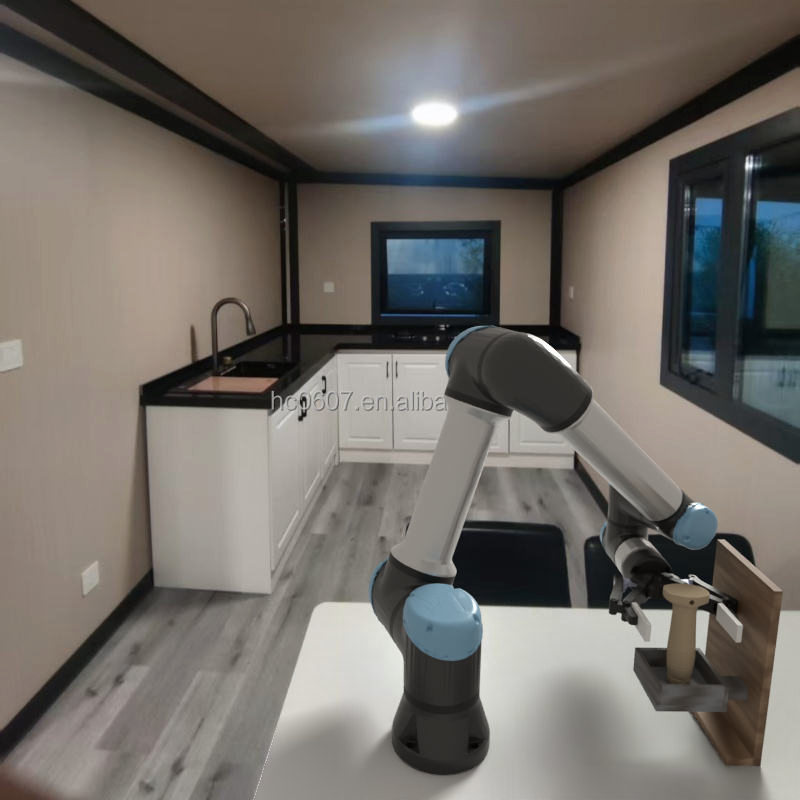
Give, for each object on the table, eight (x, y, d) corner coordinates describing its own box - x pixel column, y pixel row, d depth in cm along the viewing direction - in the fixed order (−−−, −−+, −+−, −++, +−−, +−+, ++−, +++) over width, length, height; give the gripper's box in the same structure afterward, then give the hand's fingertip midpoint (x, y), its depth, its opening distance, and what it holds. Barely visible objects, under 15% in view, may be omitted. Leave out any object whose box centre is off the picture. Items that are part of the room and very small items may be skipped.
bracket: (651, 765, 102) (666, 590, 96) (614, 690, 120) (626, 538, 114) (760, 766, 102) (783, 591, 96) (708, 690, 120) (724, 539, 114)
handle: (705, 693, 103) (714, 598, 100) (662, 691, 103) (670, 596, 100) (693, 675, 107) (701, 584, 105) (651, 674, 108) (659, 583, 105)
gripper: (712, 588, 121) (776, 657, 100) (571, 587, 121) (606, 656, 100) (716, 548, 120) (782, 610, 99) (574, 547, 120) (610, 609, 99)
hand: (693, 633), depth 99 cm, fingers open, 12 cm apart
